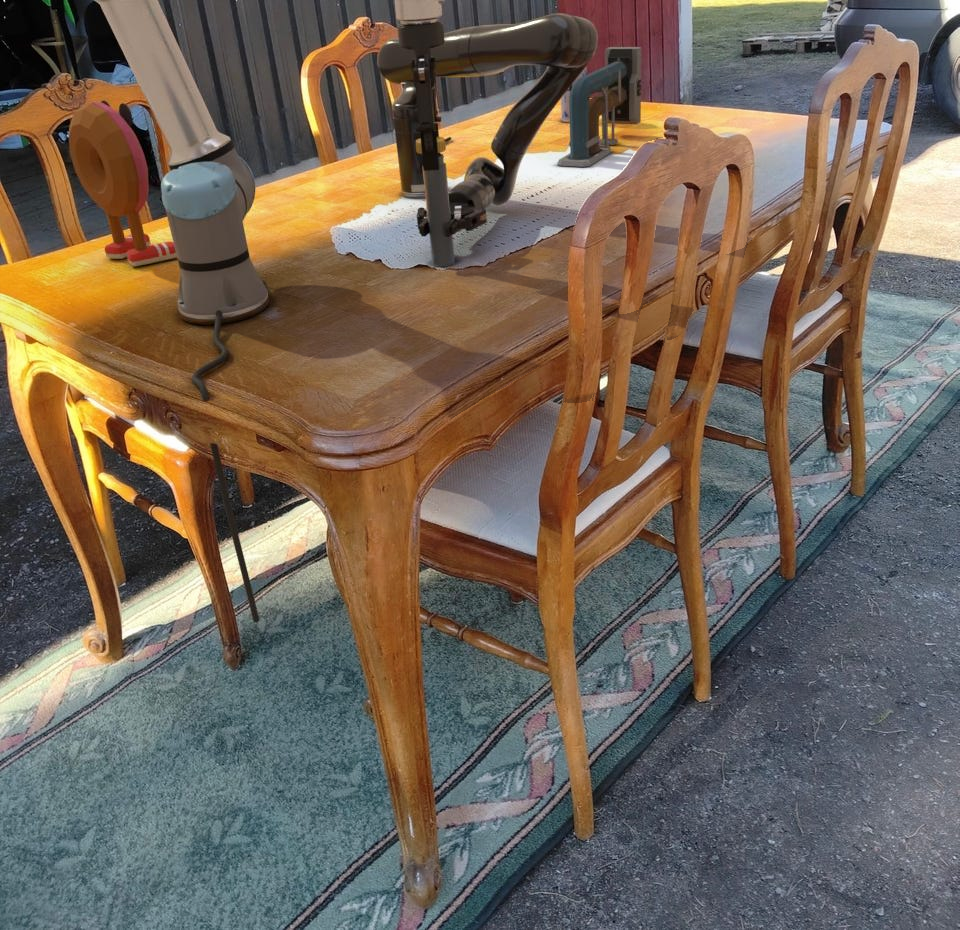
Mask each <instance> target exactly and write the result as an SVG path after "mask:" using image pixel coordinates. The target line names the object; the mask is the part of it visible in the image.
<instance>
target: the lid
mask: <svg viewBox="0 0 960 930" xmlns="http://www.w3.org/2000/svg"><path fill="white" fill-rule="evenodd" d="M445 139H446V138H445V137H442V136H439V137H437V146H438V153H440V154H442V153H443V152H445V151H446V150H447V146H446V143H445ZM416 152H417V153H419V154H422V147H421V138H420V139H417V140H416Z"/></svg>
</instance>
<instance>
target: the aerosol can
mask: <svg viewBox="0 0 960 930" xmlns="http://www.w3.org/2000/svg"><path fill="white" fill-rule="evenodd" d="M585 75H588V65H587V66H586V67H585V69H584V70H583V71H582V72H581V74H580V75H579V76H578V77H577V78H576V80H575V81H574V82H573V83H572V85H571V86H570V87H569V89H568V90H567V91H566V92H565V94H564V95H563V96H562V98H561V99H560V113H561V115H560V116H561V117H560V121H561V122H563V123H570V114H569V96H570V91H571V89H572V86H573V85H574V84H575V83H576V82H577V81H578V79H579V78H581V77H583V76H585Z"/></svg>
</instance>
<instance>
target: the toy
mask: <svg viewBox="0 0 960 930" xmlns="http://www.w3.org/2000/svg"><path fill="white" fill-rule="evenodd" d="M118 110H119V111H117V110H115V109H113V108H112V107H111V105H110V104H109V102H108V101H106V100H100V101H97V100H94V101H92V102H90V103H88V104H85V105H84V106H82V107H80V108H78V109H76V110H75V111H74V112H73V114H72V119H71V121H70V124H69V129H68V147H69V154H70V159H71V162H72V165H73V169H74V172H75V174H76V176H77V178H78V180H79V182H80V184H81V186H82V188H83V190H84V191H85V192H86V193H87V195H88V196H89V198H90V199H91V200H92V201H93V202H94V203H95V204H96V205H97V206H98V208H100V209H101V210H103V211H104V212H105V215H106V219H107V223H108V227H109V230H110V234H111V238H112V242H110V243H108V244H106V245H105V246H104V252H105V257H107V259H108V258H109V259H113V260H116V259H117V260H120V259H125V258H127V262H128V264H130V266H131V267H140V266H145V265H149V264H153V263H158V262H159V263H160V262H164V261H168V260H174V259H177V255H176V251H175V246H174V242H173V241H164V242H160V243H155V244H152V243H151V239H150V236H149V235H148V234H147V233H145V231H144V227H143V223H142V220H141V216H140V213H139V212H141V211H142V210H143V208H144V206H145V204H146V203H147V200H148V197H149V187H150V186H149V167H148V164H147V160H146V157H145V156H146V155H145V153H144V151H143V148H142V146H141V144H140V141H139V139H138V136H137V135H136V134H135V132H134V130H133V129H132V127H131V126H133V114H132V111H131V109H130V107H129V106H128V105H127V103H124V102H122V103H119V106H118ZM122 217H126V221H127V223H128V228H129V231H130V234H128V235H126V236H125V233H124V229H123V224H122V220H121V218H122Z"/></svg>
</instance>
